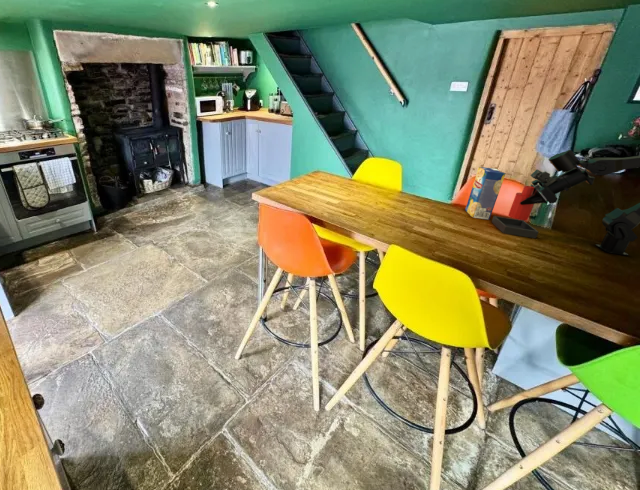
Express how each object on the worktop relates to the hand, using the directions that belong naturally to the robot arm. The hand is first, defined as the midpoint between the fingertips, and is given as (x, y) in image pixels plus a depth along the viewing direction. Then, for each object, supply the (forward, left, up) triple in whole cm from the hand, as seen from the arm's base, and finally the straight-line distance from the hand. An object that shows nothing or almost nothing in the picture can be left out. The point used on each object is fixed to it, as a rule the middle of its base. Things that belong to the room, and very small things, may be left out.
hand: (519, 201), depth 125 cm
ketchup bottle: (0, -1, -7) cm, 7 cm away
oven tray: (0, -1, -12) cm, 12 cm away
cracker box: (+15, +8, -13) cm, 21 cm away
